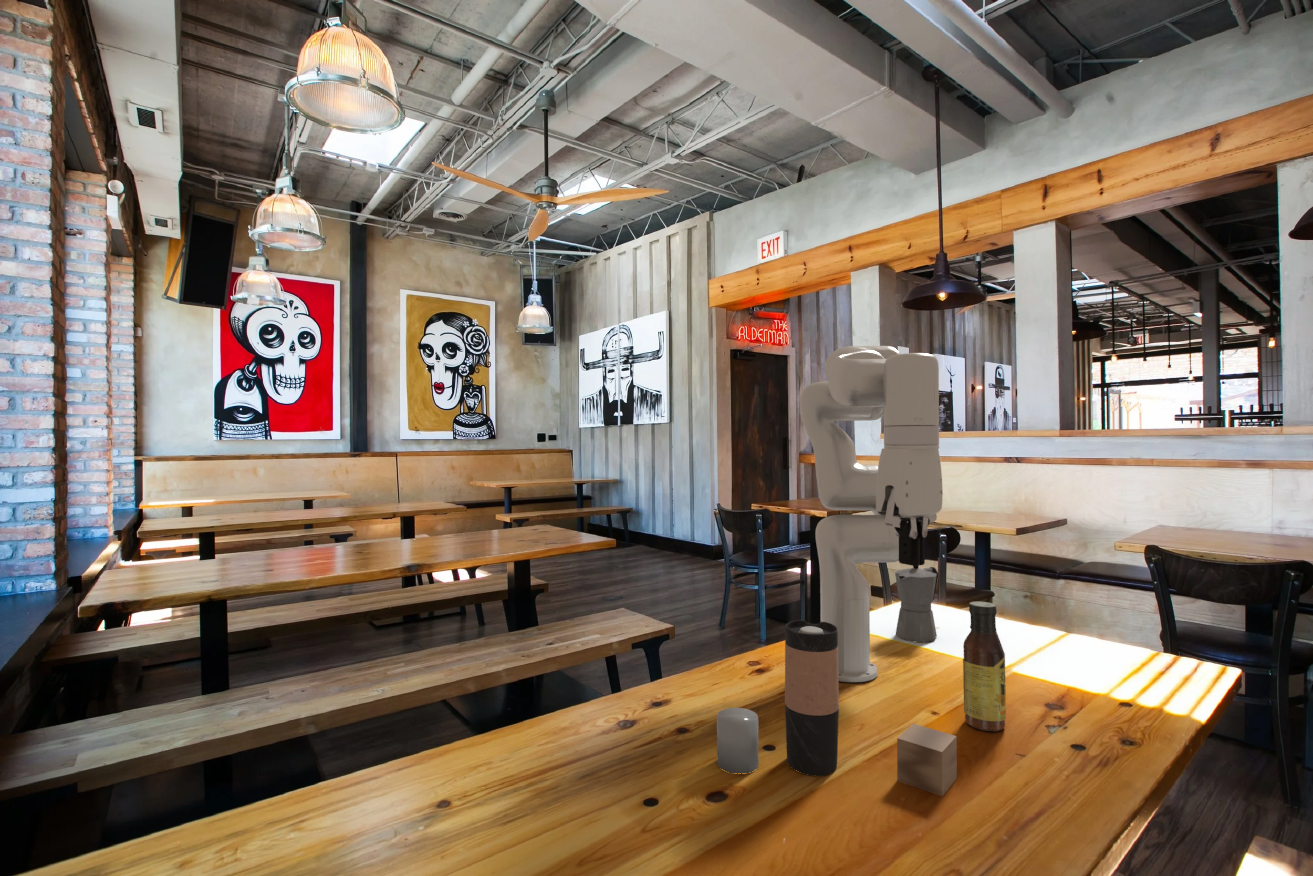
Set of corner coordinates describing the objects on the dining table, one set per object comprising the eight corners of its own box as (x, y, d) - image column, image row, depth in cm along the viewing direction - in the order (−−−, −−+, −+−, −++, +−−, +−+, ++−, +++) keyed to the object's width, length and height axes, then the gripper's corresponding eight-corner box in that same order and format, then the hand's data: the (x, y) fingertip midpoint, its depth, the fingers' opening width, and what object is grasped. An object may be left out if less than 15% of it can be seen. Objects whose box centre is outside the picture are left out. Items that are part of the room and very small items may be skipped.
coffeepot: (917, 647, 146) (917, 567, 146) (881, 636, 154) (881, 560, 154) (955, 634, 155) (955, 559, 155) (919, 625, 163) (919, 553, 163)
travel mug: (809, 782, 90) (808, 637, 90) (774, 758, 97) (773, 623, 97) (850, 769, 93) (849, 630, 93) (814, 746, 100) (813, 616, 100)
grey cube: (897, 781, 90) (897, 738, 90) (913, 764, 95) (913, 723, 95) (942, 797, 86) (942, 752, 86) (956, 779, 91) (956, 736, 91)
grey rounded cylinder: (708, 761, 96) (708, 714, 96) (739, 750, 99) (739, 704, 99) (735, 779, 91) (735, 729, 91) (767, 767, 94) (766, 718, 94)
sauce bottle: (1011, 735, 104) (1011, 610, 103) (969, 732, 105) (968, 608, 105) (998, 717, 110) (998, 600, 110) (958, 714, 111) (958, 598, 111)
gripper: (919, 438, 103) (919, 554, 103) (856, 439, 94) (857, 566, 94) (964, 438, 96) (964, 562, 96) (901, 439, 88) (902, 575, 88)
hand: (911, 563), depth 95 cm, fingers closed
